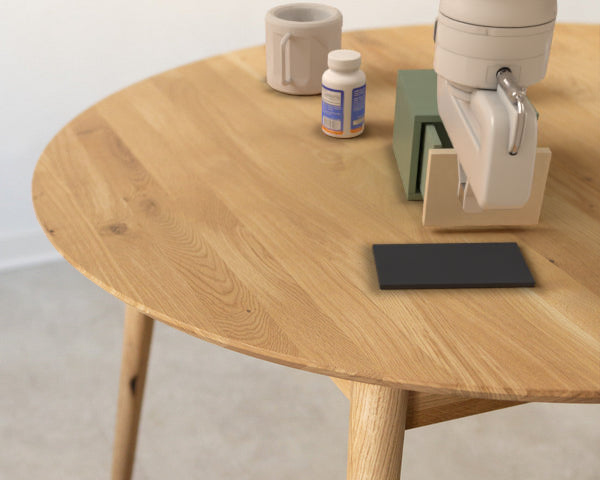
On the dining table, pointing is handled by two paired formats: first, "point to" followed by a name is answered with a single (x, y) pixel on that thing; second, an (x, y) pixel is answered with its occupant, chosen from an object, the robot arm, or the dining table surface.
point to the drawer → (444, 184)
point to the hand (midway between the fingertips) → (469, 205)
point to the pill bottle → (343, 95)
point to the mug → (300, 45)
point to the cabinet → (414, 122)
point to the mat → (451, 265)
